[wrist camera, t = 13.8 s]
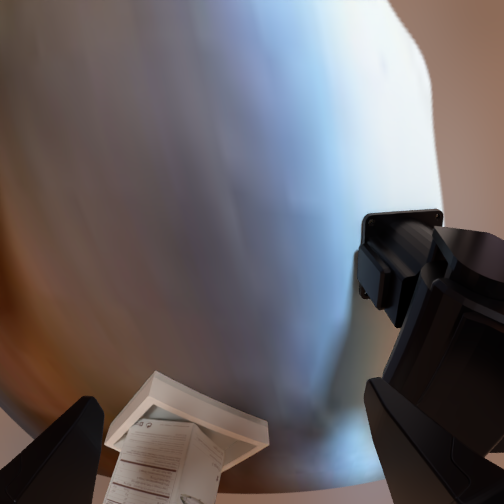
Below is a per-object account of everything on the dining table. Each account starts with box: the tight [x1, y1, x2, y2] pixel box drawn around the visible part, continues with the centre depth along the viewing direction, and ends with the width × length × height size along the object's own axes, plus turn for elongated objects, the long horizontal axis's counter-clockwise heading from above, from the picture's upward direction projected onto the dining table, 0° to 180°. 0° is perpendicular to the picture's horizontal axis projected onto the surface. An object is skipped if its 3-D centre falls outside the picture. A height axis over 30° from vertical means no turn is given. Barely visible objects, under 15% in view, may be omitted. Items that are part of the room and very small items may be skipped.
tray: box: [104, 371, 269, 473], centre depth 28 cm, size 13×13×3 cm
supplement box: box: [103, 418, 225, 504], centre depth 22 cm, size 7×7×13 cm
